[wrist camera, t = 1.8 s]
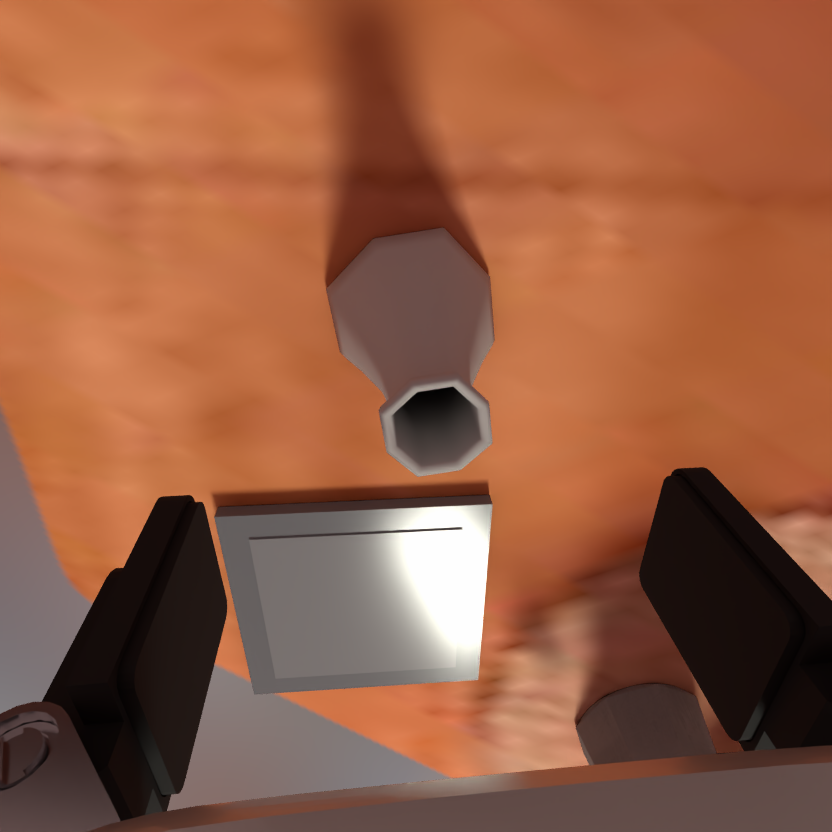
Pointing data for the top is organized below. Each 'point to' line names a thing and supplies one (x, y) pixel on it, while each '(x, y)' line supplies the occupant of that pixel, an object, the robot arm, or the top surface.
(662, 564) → the robot arm
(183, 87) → the top surface
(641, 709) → the coffeepot
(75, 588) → the top surface
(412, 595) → the slate coaster
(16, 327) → the top surface
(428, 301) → the flask
